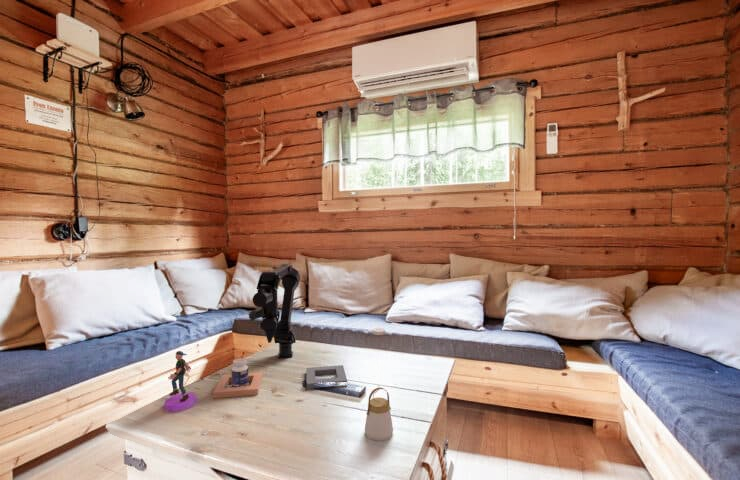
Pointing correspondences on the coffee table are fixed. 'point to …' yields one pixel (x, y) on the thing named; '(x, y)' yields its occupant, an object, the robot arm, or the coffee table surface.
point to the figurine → (182, 399)
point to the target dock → (223, 391)
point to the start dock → (324, 370)
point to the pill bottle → (239, 373)
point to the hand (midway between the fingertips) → (270, 339)
